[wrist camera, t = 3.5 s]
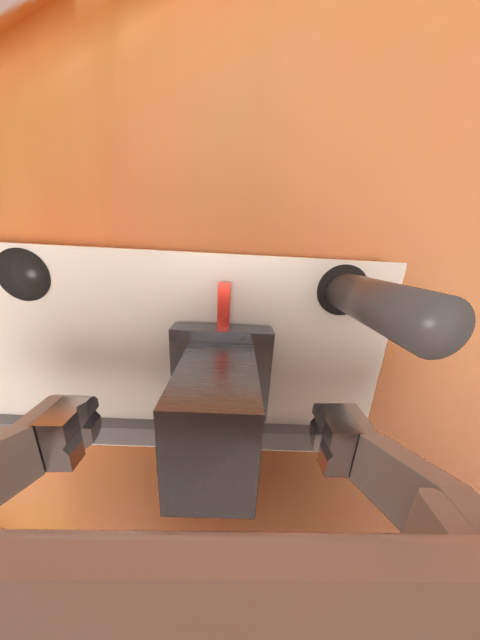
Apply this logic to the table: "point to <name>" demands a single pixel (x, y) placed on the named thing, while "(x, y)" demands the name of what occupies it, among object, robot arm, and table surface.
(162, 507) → the leg
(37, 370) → the gauge board
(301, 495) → the table surface
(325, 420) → the robot arm
